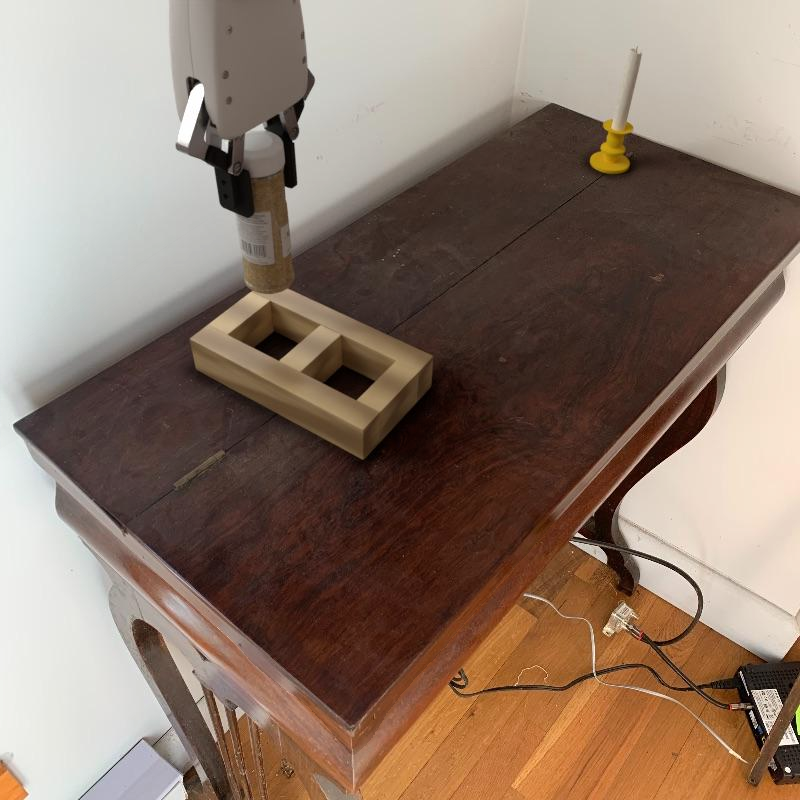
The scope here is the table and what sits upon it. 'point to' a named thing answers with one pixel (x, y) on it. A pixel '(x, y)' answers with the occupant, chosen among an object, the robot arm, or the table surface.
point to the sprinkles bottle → (265, 216)
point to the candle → (619, 123)
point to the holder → (314, 367)
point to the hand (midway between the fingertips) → (259, 194)
